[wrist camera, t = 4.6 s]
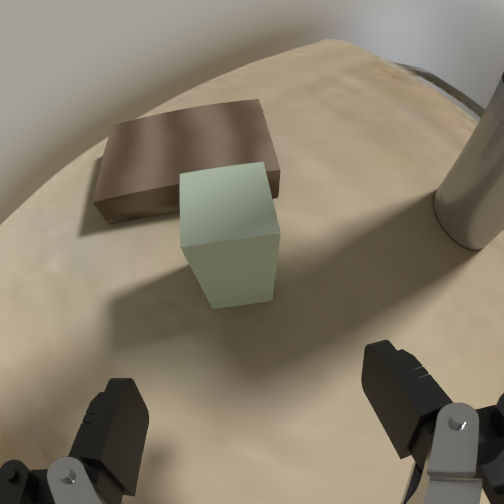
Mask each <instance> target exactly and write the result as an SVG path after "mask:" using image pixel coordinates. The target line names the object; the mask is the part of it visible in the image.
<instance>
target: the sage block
mask: <svg viewBox="0 0 504 504" xmlns="http://www.w3.org/2000/svg"><path fill="white" fill-rule="evenodd" d="M180 240H181V249H182V251H183V253H184V255H185V257H186V259H187V261H188V263H189V265H190V267H191V269H192V271H193V273H194V275H195V276H196V278H197V280H198V282H199V284H200V286H201V288H202V290H203V292H204V294H205V295H206V297H207V299H208V301H209V303H210V305H211V307H212V309H221V308H228V307H235V306H242V305H249V304H256V303H263V302H269V301H272V300H273V292H274V284H275V276H276V267H277V259H278V250H279V241H280V229H279V225H278V220H277V216H276V212H275V207H274V203H273V199H272V195H271V191H270V186H269V182H268V178H267V174H266V170H265V166H264V162H257V163H248V164H241V165H233V166H226V167H219V168H212V169H206V170H200V171H193V172H188V173H182V174H180Z"/></svg>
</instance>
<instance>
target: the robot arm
mask: <svg viewBox="0 0 504 504" xmlns="http://www.w3.org/2000/svg"><path fill="white" fill-rule="evenodd" d="M434 208H435V212H436V215H437V217H438V219H439V221H440V223H441V225H442V226H443V228H444V229H445V231H446V232H447V233H448V234H449V235H450V236H451V237H452V238H453V239H454V240H455V241H456V242H458V243H459V244H460V245H462V246H464V247H466V248H469V249H473V250H478V249H482V248H484V247H485V246H486V245H487V244H489V243H490V242H491V241H492V240H493V239H494V238H495V237H496V236H497V235H498V234H499V233H500V232H501V231H503V230H504V72H503V75H502V78H501V79H500V81H499V83H498V85H497V87H496V90H495V92H494V94H493V96H492V98H491V100H490V102H489V104H488V106H487V108H486V110H485V112H484V113H483V115H482V117H481V119H480V121H479V123H478V124H477V126H476V128H475V130H474V132H473V133H472V135H471V137H470V139H469V140H468V142H467V144H466V145H465V147H464V149H463V150H462V152H461V154H460V155H459V157H458V159H457V160H456V162H455V163H454V165H453V167H452V168H451V170H450V171H449V173H448V174H447V176H446V177H445V179H444V180H443V182H442V183H441V185H440V186H439V188H438V189H437V191H436V193H435V196H434ZM361 381H362V387H363V390H364V393H365V395H366V396H367V398H368V400H369V402H370V404H371V405H372V407H373V409H374V411H375V413H376V414H377V416H378V418H379V420H380V422H381V424H382V425H383V427H384V429H385V431H386V433H387V435H388V436H389V438H390V440H391V442H392V444H393V446H394V448H395V450H396V451H397V453H398V455H399V457H400V459H403V458H405V457H408V456H410V455H412V457H413V458H414V460H415V461H414V463H413V466H412V469H411V473H410V476H409V479H408V483H407V486H406V489H405V492H404V495H403V498H402V501H401V503H400V504H479V503H480V497H481V491H482V488H483V490H484V492H485V494H486V496H487V498H488V500H489V502H490V503H491V504H504V393H503V394H502V395H501V397H500V398H499V400H498V402H497V404H496V405H493V406H489V407H485V408H481V409H474V408H472V407H471V406H470V405H467V404H465V403H453V402H452V401H451V399H450V398H449V397H448V396H447V394H446V393H445V392H444V391H443V390H442V388H441V387H440V386H439V385H438V383H437V382H436V381H435V380H434V379H433V377H432V376H431V375H429V374H428V371H427V370H426V369H425V368H424V367H422V364H421V363H420V362H419V361H418V360H417V359H416V357H415V356H414V355H412V354H410V353H408V352H406V351H405V350H403V349H402V350H398V351H397V350H396V349H395V347H394V346H393V345H392V344H391V343H390V341H388V340H382V341H379V342H375V343H372V344H368V345H366V347H365V351H364V360H363V369H362V377H361ZM82 422H83V424H82V423H81V426H80V428H79V430H78V433H77V435H76V438H75V440H74V443H73V445H72V448H71V451H70V453H69V455H68V457H63V458H59V459H57V460H56V461H54V462H53V463H52V464H51V465H50V467H49V469H44V470H29V469H28V468H27V467H26V466H25V465H24V464H23V463H22V462H21V461H18V460H10V461H8V462H6V463H5V464H3V465H2V467H1V468H0V504H123V503H122V496H123V495H129V496H135V491H136V486H137V480H138V474H139V469H140V464H141V459H142V454H143V449H144V444H145V439H146V434H147V429H148V425H149V413H148V409H147V407H146V405H145V403H144V401H143V399H142V397H141V395H140V393H139V391H138V388H137V386H136V384H135V382H134V381H133V379H131V378H112V379H110V380H109V382H108V384H107V387H106V389H105V391H104V392H100V393H99V394H98V395H97V396H96V397H95V398H94V399H93V400H92V401H91V402H90V405H89V407H88V409H87V412H86V415H85V416H84V419H83V421H82Z"/></svg>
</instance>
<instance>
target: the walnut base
mask: <svg viewBox="0 0 504 504" xmlns="http://www.w3.org/2000/svg"><path fill="white" fill-rule="evenodd" d="M257 162H264V166H265V170H266V174H267V178H268V182H269V186H270V191H271V195H272V198H274V197H278V194H279V181H280V167H279V164H278V160H277V157H276V154H275V150H274V147H273V144H272V140H271V137H270V134H269V130H268V127H267V124H266V121H265V118H264V114H263V111H262V108H261V105H260V102H259V99H254V100H244V101H235V102H227V103H219V104H212V105H206V106H199V107H193V108H188V109H182V110H177V111H172V112H167V113H162V114H157V115H153V116H148V117H144V118H140V119H136V120H132V121H128V122H124V123H120V124H117V125H113V126H112V127H111V130H110V134H109V137H108V141H107V144H106V148H105V151H104V155H103V159H102V163H101V166H100V171H99V175H98V179H97V183H96V188H95V192H94V197H93V203H94V205H95V206H96V208H97V209H98V210H99V212H100V213H101V214H102V216H103V217H104V218H105V220H106V221H107V222H108V224H111V223H116V222H121V221H126V220H132V219H137V218H142V217H148V216H154V215H159V214H165V213H171V212H177V211H180V174H182V173H188V172H193V171H200V170H206V169H212V168H219V167H226V166H233V165H241V164H248V163H257Z"/></svg>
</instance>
